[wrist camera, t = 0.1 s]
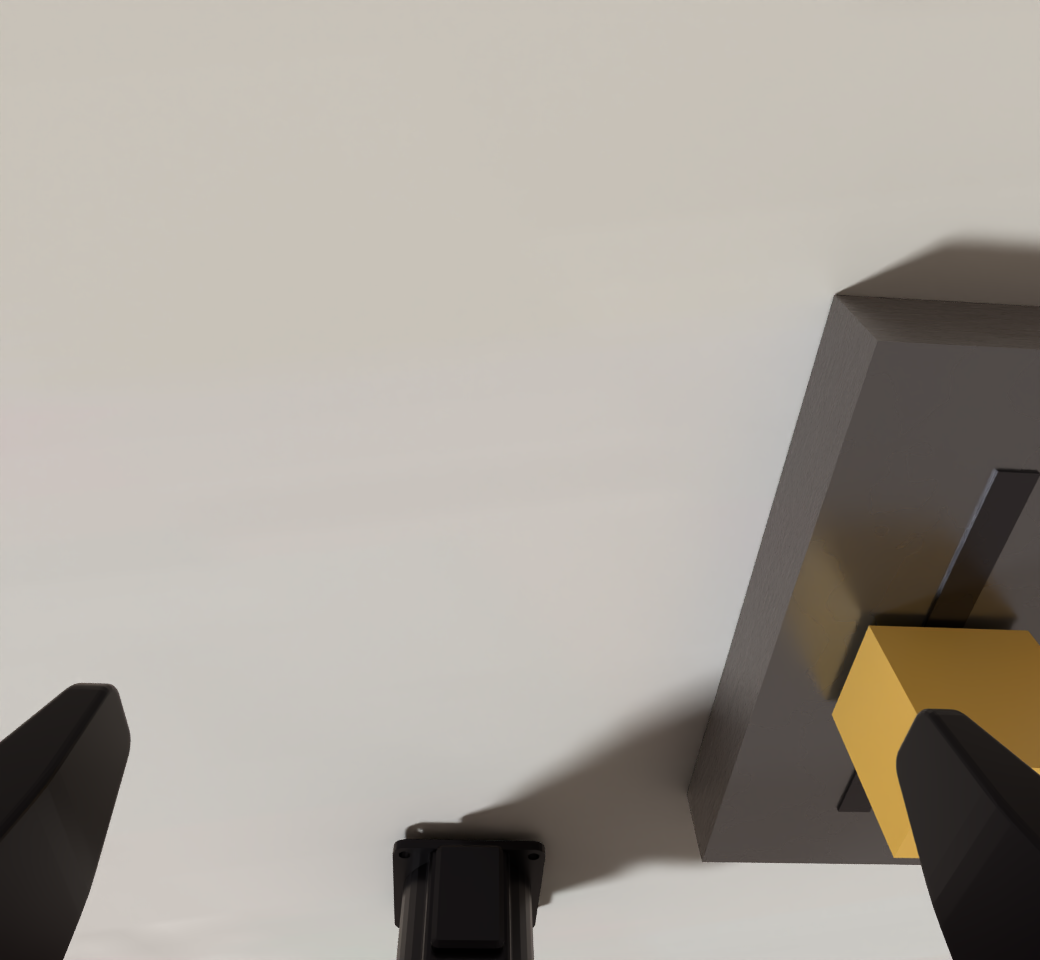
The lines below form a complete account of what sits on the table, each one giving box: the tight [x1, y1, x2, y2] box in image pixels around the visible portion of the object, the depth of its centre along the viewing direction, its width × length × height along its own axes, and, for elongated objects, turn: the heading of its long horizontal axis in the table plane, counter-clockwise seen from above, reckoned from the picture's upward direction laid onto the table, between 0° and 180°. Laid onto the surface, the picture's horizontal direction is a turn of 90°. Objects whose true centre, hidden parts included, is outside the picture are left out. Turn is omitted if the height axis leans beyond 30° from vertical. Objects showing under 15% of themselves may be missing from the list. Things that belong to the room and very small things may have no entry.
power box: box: [687, 295, 1040, 865], centre depth 27 cm, size 22×10×3 cm, turn 176°
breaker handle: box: [832, 625, 1040, 858], centre depth 24 cm, size 4×5×5 cm
